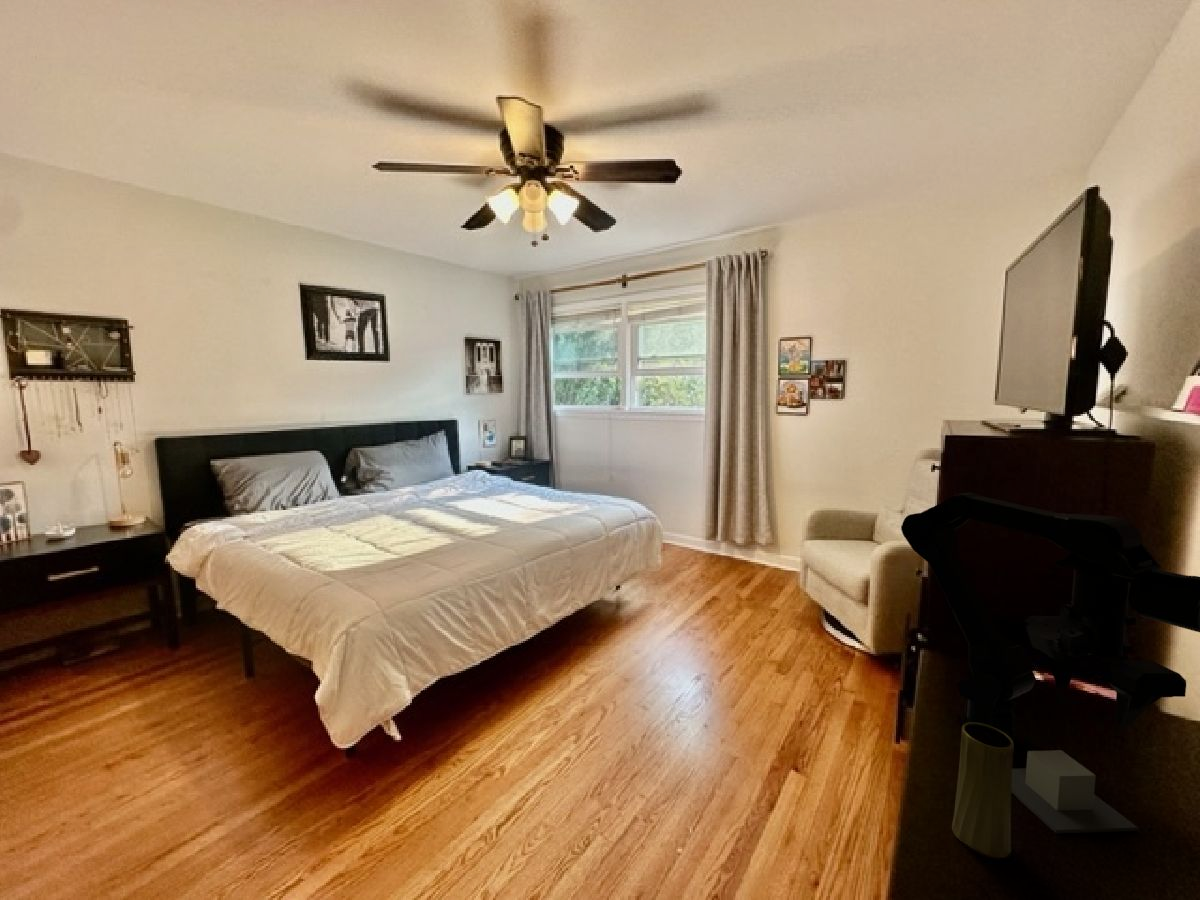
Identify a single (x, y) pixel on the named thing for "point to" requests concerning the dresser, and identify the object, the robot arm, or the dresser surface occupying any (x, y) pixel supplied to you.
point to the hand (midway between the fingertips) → (1090, 707)
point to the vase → (984, 790)
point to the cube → (1060, 780)
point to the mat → (1069, 811)
